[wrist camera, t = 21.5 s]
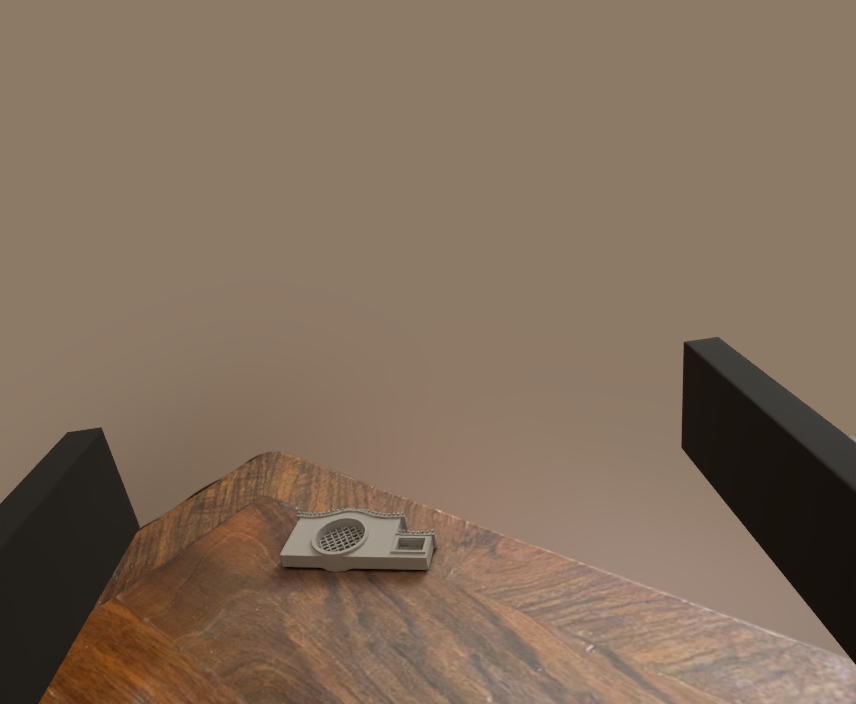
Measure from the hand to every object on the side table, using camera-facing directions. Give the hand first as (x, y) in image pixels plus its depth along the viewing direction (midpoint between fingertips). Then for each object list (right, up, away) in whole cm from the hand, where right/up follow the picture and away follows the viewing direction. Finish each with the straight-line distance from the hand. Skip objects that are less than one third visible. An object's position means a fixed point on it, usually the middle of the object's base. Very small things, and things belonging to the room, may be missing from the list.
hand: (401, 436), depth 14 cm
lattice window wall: (-5, -14, +32) cm, 36 cm away
